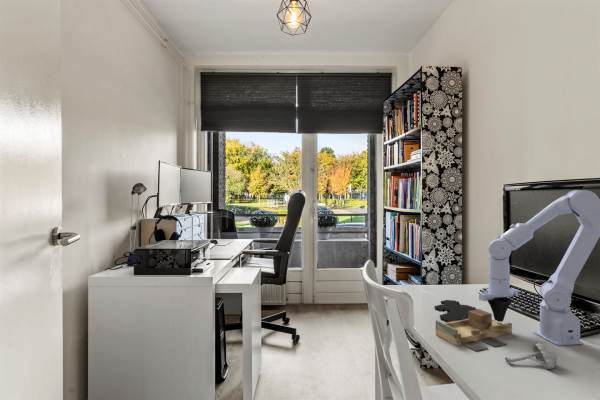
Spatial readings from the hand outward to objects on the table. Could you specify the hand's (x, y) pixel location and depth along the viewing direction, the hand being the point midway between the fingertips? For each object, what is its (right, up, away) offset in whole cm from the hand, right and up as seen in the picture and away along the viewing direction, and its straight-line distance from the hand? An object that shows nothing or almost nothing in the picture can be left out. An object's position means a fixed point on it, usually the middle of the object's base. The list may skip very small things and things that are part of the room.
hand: (498, 320), depth 110 cm
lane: (-9, -3, -6) cm, 11 cm away
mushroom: (-4, -4, -22) cm, 23 cm away
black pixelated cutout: (-7, -3, +12) cm, 14 cm away
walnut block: (-7, -1, -3) cm, 8 cm away
